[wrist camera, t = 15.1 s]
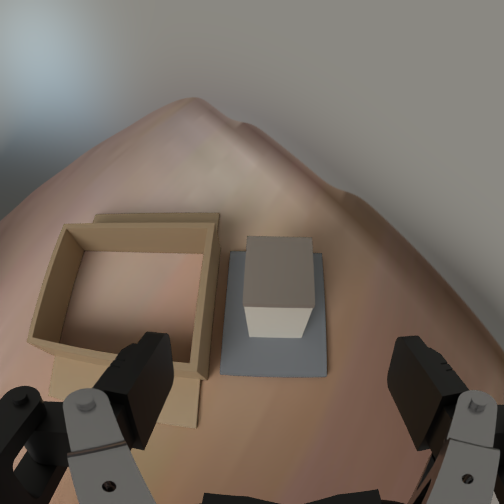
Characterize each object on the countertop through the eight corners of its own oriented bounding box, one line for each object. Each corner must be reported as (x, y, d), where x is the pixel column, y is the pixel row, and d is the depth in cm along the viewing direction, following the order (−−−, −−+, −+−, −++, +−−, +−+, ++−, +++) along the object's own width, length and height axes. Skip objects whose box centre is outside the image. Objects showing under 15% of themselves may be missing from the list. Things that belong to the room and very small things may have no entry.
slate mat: (220, 374, 26) (219, 373, 25) (231, 254, 32) (230, 251, 31) (325, 376, 25) (326, 376, 25) (320, 256, 31) (321, 253, 31)
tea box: (248, 337, 27) (242, 303, 20) (251, 284, 29) (247, 236, 23) (301, 338, 26) (315, 304, 20) (301, 285, 29) (311, 237, 22)
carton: (45, 394, 24) (18, 386, 20) (92, 216, 35) (77, 192, 32) (203, 429, 23) (191, 429, 19) (225, 214, 34) (220, 186, 31)
